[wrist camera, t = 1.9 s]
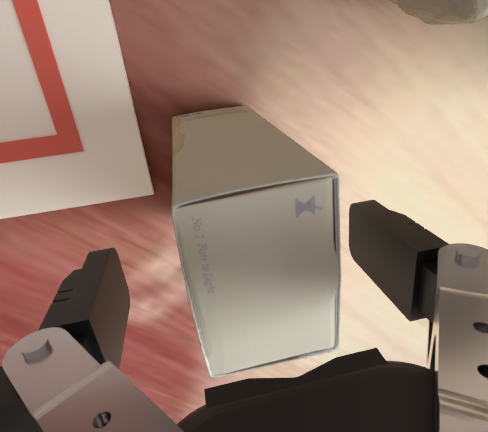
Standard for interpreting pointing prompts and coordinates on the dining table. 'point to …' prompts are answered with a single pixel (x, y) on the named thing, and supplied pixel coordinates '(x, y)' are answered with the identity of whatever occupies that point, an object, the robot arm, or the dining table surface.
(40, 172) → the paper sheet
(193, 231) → the skincare box
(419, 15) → the ceramic sculpture
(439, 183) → the dining table surface
